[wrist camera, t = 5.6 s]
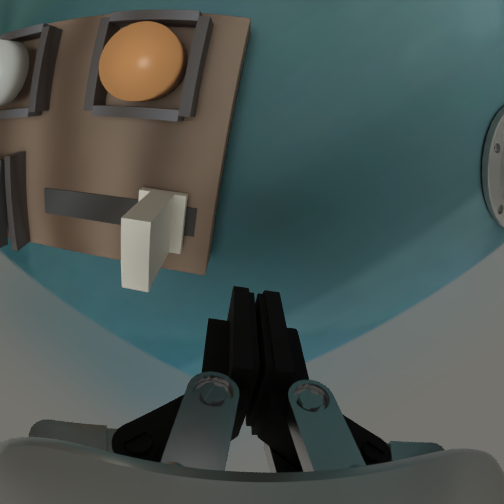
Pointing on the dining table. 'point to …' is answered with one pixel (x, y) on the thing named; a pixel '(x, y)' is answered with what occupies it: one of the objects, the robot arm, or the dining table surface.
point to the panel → (117, 135)
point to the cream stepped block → (151, 235)
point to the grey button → (12, 69)
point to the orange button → (142, 62)
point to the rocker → (3, 207)
